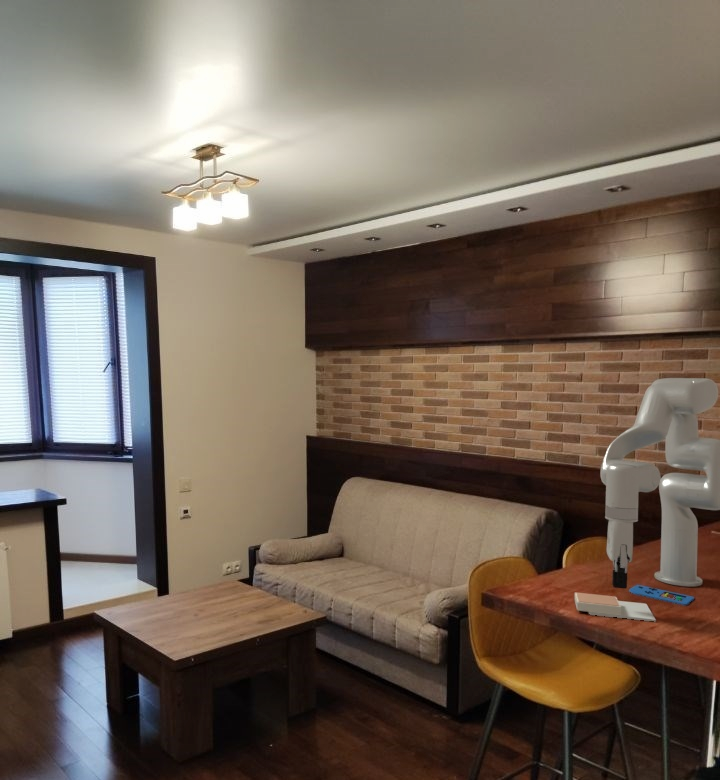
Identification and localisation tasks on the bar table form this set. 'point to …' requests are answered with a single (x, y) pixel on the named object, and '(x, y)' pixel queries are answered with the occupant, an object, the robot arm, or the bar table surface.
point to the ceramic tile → (597, 603)
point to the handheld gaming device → (661, 594)
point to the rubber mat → (631, 611)
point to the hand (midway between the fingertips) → (619, 587)
